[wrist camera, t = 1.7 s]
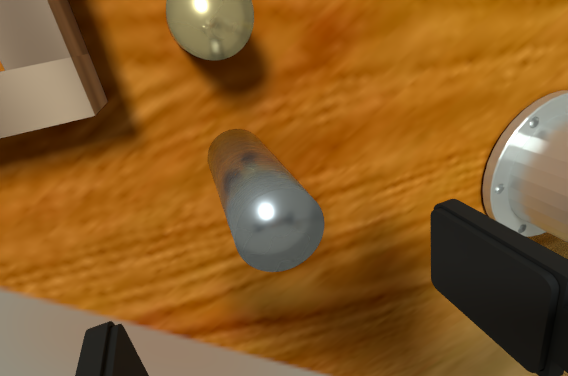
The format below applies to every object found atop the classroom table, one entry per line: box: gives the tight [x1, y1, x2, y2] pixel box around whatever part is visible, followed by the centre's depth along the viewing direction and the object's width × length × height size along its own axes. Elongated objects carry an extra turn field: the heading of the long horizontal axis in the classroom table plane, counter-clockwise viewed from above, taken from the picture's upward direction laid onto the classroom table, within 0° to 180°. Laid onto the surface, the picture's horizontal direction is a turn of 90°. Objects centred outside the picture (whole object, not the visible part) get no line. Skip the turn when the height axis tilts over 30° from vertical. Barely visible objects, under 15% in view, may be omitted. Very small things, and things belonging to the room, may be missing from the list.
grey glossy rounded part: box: [166, 0, 254, 60], centre depth 17 cm, size 4×4×5 cm
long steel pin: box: [208, 129, 324, 272], centre depth 19 cm, size 4×4×10 cm
